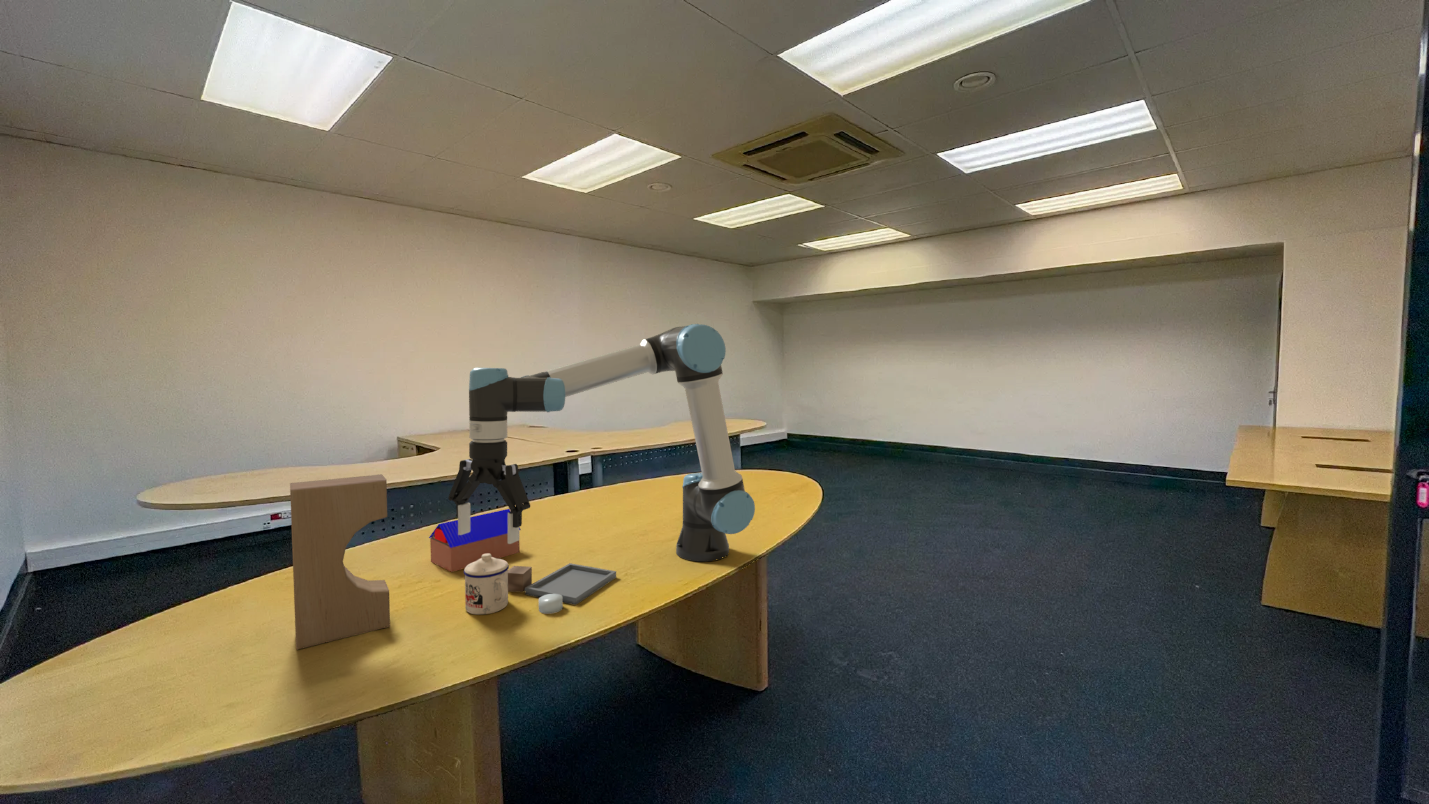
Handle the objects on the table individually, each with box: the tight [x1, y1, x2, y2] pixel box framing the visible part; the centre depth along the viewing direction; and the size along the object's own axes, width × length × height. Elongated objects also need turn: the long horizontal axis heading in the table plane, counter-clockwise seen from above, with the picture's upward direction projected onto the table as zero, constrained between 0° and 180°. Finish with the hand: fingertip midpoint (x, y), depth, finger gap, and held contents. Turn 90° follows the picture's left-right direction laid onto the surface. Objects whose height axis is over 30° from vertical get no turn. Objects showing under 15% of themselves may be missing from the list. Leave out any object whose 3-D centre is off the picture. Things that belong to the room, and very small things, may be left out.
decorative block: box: [289, 474, 391, 650], centre depth 106 cm, size 15×8×30 cm, turn 128°
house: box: [428, 508, 522, 573], centre depth 148 cm, size 12×20×12 cm, turn 142°
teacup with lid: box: [463, 553, 510, 616], centre depth 117 cm, size 12×9×12 cm
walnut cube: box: [508, 565, 533, 593], centre depth 128 cm, size 4×4×4 cm
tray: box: [524, 562, 617, 606], centre depth 130 cm, size 14×17×2 cm
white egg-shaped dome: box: [538, 594, 563, 615], centre depth 118 cm, size 5×5×2 cm
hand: (488, 537), depth 116 cm, fingers open, 13 cm apart
